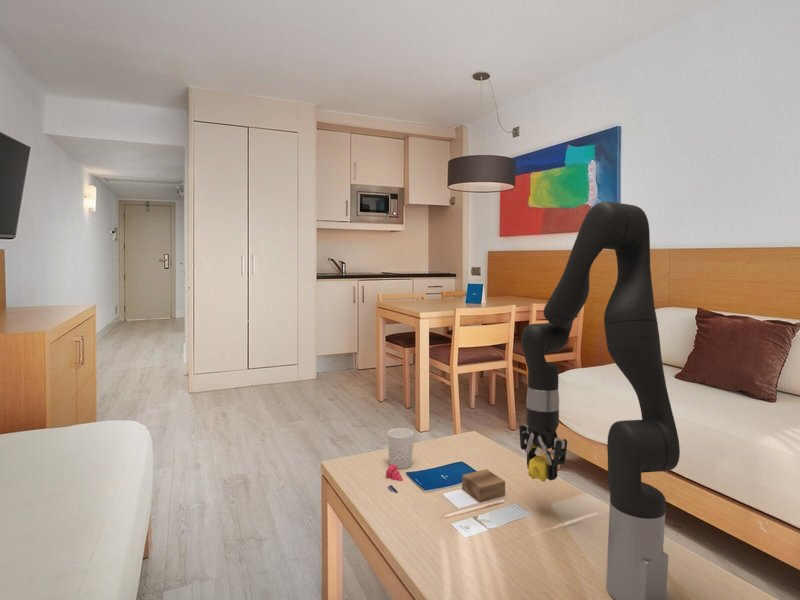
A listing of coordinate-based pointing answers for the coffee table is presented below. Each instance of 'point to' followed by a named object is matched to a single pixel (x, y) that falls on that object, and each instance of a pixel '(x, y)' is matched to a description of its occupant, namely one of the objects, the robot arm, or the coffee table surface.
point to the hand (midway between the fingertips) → (541, 473)
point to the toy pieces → (393, 476)
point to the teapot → (538, 468)
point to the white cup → (400, 447)
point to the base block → (483, 485)
